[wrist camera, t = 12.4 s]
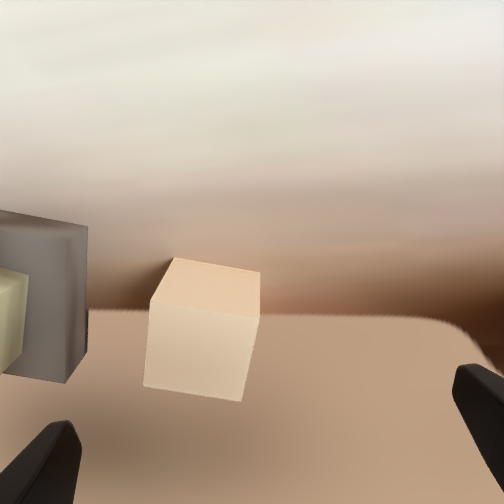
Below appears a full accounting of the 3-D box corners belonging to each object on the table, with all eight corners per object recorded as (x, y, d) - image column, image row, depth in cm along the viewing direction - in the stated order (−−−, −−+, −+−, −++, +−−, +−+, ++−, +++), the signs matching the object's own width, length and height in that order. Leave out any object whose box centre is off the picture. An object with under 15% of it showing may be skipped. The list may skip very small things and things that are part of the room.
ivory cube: (260, 271, 21) (259, 319, 17) (245, 342, 23) (241, 401, 19) (174, 256, 21) (150, 300, 17) (166, 329, 23) (142, 386, 18)
